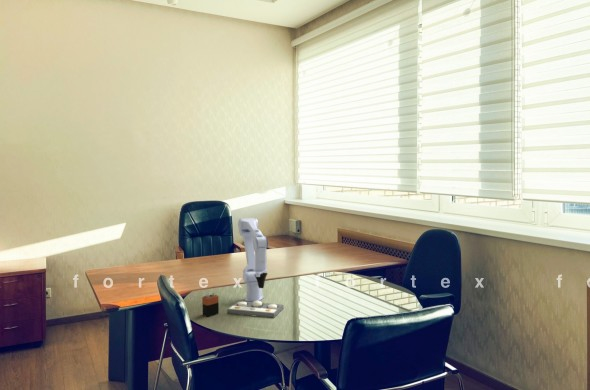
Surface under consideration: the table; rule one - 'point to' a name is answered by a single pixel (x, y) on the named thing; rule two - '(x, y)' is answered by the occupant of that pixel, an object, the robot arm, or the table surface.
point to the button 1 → (242, 303)
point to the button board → (255, 310)
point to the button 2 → (257, 304)
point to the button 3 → (272, 306)
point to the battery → (210, 305)
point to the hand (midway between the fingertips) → (261, 287)
